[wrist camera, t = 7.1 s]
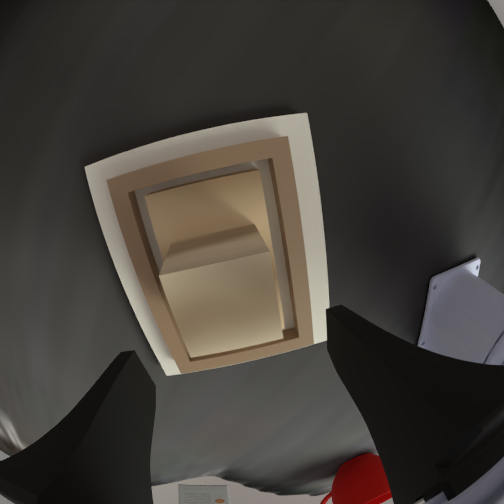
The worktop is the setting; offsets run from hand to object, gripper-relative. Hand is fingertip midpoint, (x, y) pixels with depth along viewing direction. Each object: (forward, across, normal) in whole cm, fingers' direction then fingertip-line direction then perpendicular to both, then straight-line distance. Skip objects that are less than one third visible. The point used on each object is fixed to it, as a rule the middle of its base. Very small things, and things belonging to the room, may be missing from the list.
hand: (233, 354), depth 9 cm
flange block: (+8, 0, 0) cm, 8 cm away
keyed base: (+9, 0, 0) cm, 9 cm away
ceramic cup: (+9, -11, +45) cm, 47 cm away
